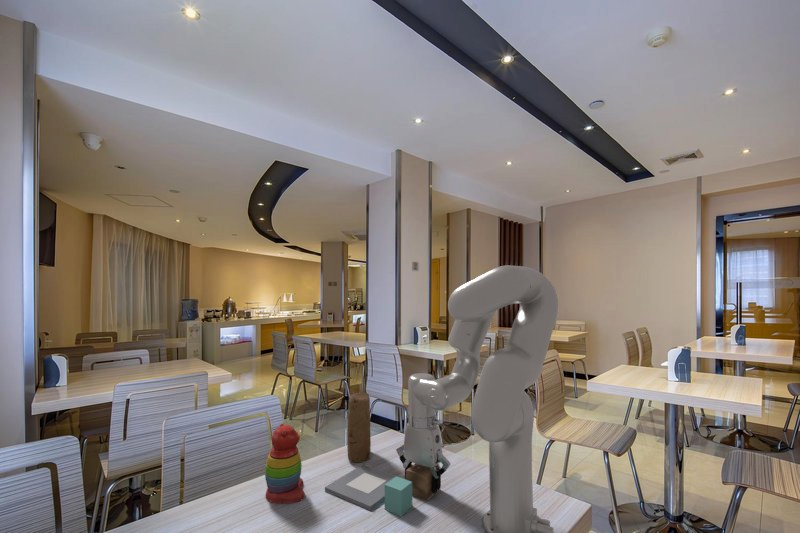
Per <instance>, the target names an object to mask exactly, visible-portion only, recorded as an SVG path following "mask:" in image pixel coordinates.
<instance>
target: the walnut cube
mask: <svg viewBox="0 0 800 533" xmlns="http://www.w3.org/2000/svg"><path fill="white" fill-rule="evenodd" d="M435 469H436V468H435ZM436 471H437V470H436ZM433 477H434V476H433V474H432V471H431V469H430V468H429V467H425V466H422V465H419V464H416V463H413V464H412V466H411V467H410V468H408V469H407V470H406V480H408V481H411V482H412V496H414V497H416V498H419V499H422V500H424V501H428V500H429V499H430V498H432V497H433V496H434V493H432V478H433Z"/></svg>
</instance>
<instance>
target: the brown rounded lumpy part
mask: <svg viewBox="0 0 800 533" xmlns="http://www.w3.org/2000/svg"><path fill="white" fill-rule="evenodd" d="M370 399H371V398H370V395H369V393H368V392H362V391H361V392H353V393H351V394H350V395H349V398H348V410H347V411H348V412H347V436H346V437H347V439H346V440H347V446H346V447H347V459H348V461H350V462H352V463H365V462H366V461H368V460H370V459H371V451H372V450H371V445H372V443H371V408H370V407H371V404H370V403H371V402H370V401H371V400H370Z"/></svg>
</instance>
